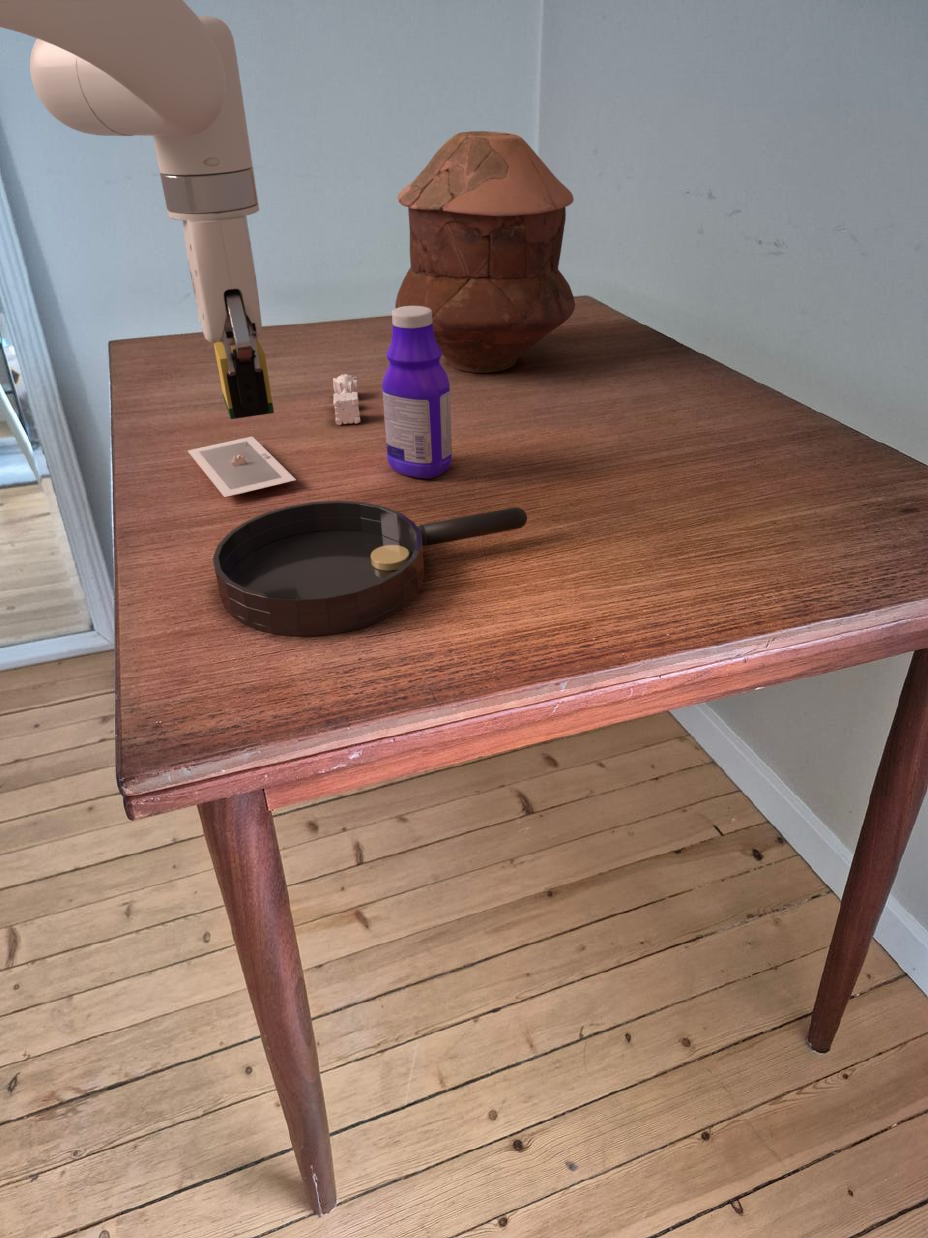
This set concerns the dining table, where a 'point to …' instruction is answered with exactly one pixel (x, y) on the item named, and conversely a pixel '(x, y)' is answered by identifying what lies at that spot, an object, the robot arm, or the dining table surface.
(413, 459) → the bottle
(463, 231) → the pottery vessel
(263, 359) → the sponge
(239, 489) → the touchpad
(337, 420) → the game pieces
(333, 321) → the dining table surface
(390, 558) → the disc
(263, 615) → the pan
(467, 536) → the pan handle
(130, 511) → the dining table surface
